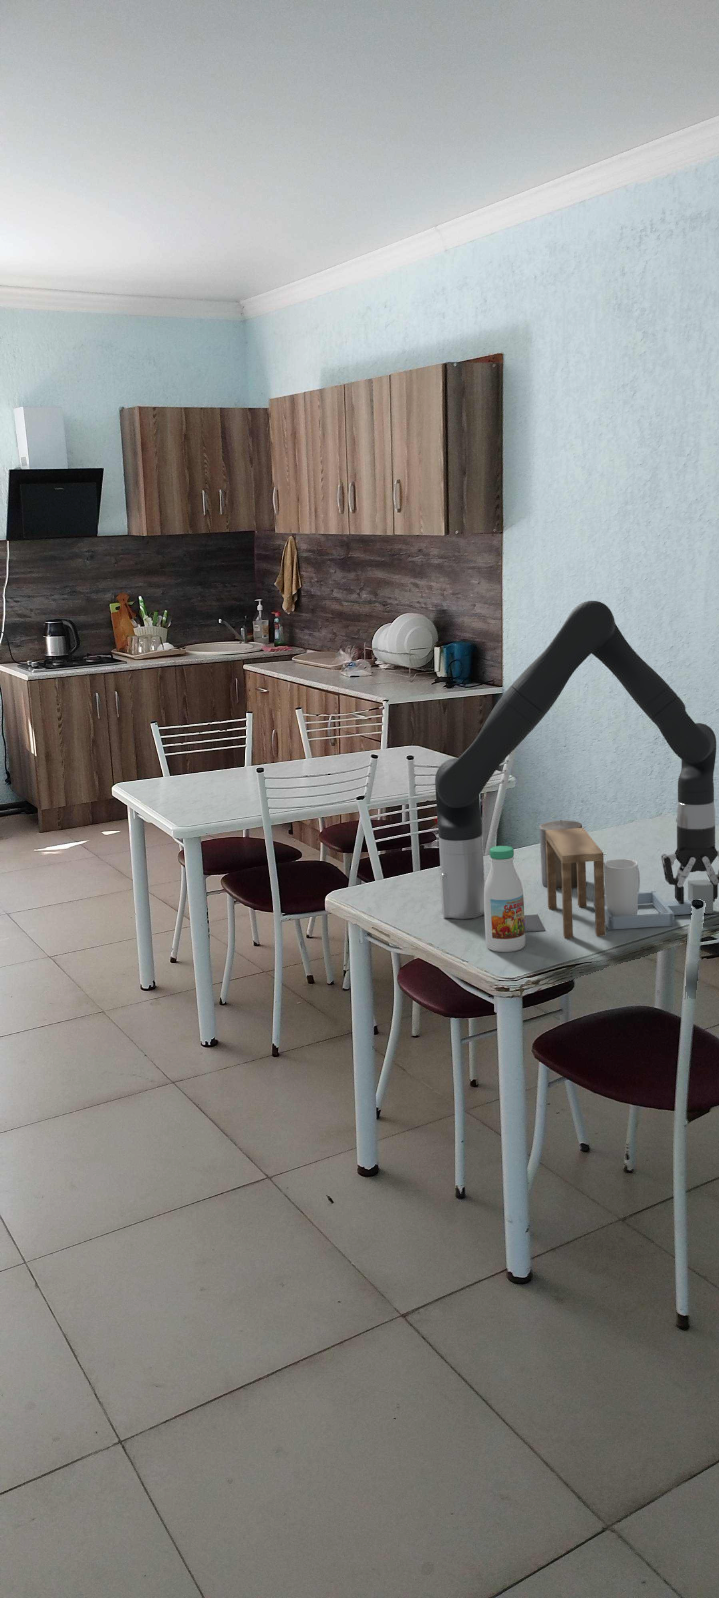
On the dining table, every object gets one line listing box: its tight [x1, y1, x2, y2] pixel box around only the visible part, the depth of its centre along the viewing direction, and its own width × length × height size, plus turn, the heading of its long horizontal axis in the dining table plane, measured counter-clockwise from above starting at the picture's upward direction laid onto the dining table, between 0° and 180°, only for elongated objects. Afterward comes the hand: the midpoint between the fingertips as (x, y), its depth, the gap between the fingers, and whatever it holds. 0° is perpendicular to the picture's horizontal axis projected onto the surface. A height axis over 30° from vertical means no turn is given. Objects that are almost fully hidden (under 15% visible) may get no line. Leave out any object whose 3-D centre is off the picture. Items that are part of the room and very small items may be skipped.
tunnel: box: [545, 827, 606, 939], centre depth 239 cm, size 8×20×17 cm, turn 1°
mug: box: [604, 858, 641, 917], centre depth 239 cm, size 10×7×12 cm, turn 135°
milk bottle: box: [484, 845, 526, 953], centre depth 227 cm, size 8×8×20 cm
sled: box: [593, 879, 714, 930], centre depth 240 cm, size 22×15×6 cm, turn 91°
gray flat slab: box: [524, 914, 546, 934], centre depth 241 cm, size 6×10×1 cm, turn 1°
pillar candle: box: [538, 819, 583, 890], centre depth 265 cm, size 10×10×15 cm
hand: (696, 901), depth 240 cm, fingers closed on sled, 5 cm apart
